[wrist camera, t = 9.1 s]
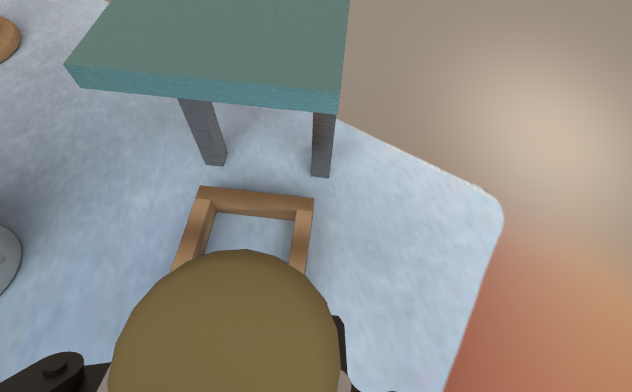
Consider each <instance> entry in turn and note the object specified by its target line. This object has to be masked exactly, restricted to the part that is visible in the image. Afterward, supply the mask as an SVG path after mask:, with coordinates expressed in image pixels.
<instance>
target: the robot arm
mask: <svg viewBox="0 0 632 392" xmlns="http://www.w3.org/2000/svg"><path fill="white" fill-rule="evenodd" d="M20 260H21V245H20V242H19V240H18V238H17V237H16V236H15V234H14V233H13V232H11V231H9V230H8V229H6V228H4V227H3V226H1V225H0V294H1V293H2V292H3V291H4V289H5V288H6V287H7V286H8V285H9V283H10V282H11V280H12V279H13V277H14V276H15V274H16V272H17V269H18V267H19V265H20ZM326 303H327V302H326ZM331 316H332V318H333V321H334V323H335V325H336V328H337V331H338V341H339V352H340V362H341V370H340V376H339V381H338V386H337V392H360V391H359V390H358V389H356V388H355V387H354V386H353V384H352V383H351V381H350V379H349V377H348V374H347V361H346V345H345V329H344V324H343V322H342V321H341V319H340V317H339V316H334V315H331ZM111 363H112V362H110V363H103V364H95V365H87V366H84V359H83V357H82V355H80V354H79V353H76V352H61V353H57V354H53V355H50V356H48V357H45V358H43V359H41V360H40V361H38V362H36V363H34V364H32V365H31V366H29V367H27V368H25V369H24V370H22V371H20V372H18V373H17V374H15V375H13V376H11V377H10V378H8V379H6V380H4V381H3V382H1V383H0V392H108V387H107V381H108V377H109V372H110V368H111ZM390 392H394V391H390Z"/></svg>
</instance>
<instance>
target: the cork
mask: <svg viewBox="0 0 632 392" xmlns="http://www.w3.org/2000/svg"><path fill="white" fill-rule="evenodd" d="M340 370H341V362H340V352H339V341H338V331H337V328H336V325H335V323H334V321H333V318H332V316H331V313H330V311H329V308H328V306H327V303H326V301H325V299H324V297H323V296H322V295H321V294H320V293H319V291H318V290H317V289H316V288H315V287H314V285H313V284H312V283H311V282H310V281H309V279H308V278H307V277H306V276H305V275H304V274H303V273H302V272H300V271H298V270H297V269H295V268H294V267H292V266H290V265H289V264H287V263H286V262H284V261H282V260H281V259H279V258H278V257H276V256H273V255H269V254H265V253H261V252H257V251H253V250H248V249H241V250H224V251H215V252H212V253H209V254H207V255H204V256H201V257H198V258H195V259H192V260H189V261H187V262H185V263H184V264H182V265H181V266H179V267H178V268H176V269H175V270H173V271H172V272H170V273H169V274H167V275H166V276H165V277H163V278H162V279H160V280H159V281H158V282H157V283H156V284H155V285H154V286H153V287H152V288H151V289H150V291H149V292H148V293H147V294H146V295H145V296H144V297H143V299H142V300H141V301H140V302H139V303H138V304H137V305H136V306H135V308H134V309H133V311H132V313H131V315H130V317H129V319H128V321H127V322H126V324H125V326H124V328H123V330H122V332H121V334H120V336H119V338H118V340H117V342H116V345H115V349H114V354H113V358H112V363H111V368H110V372H109V377H108V381H107V387H108V392H337V386H338V381H339V376H340Z"/></svg>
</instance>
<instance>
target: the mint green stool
mask: <svg viewBox="0 0 632 392" xmlns="http://www.w3.org/2000/svg"><path fill="white" fill-rule="evenodd" d="M349 3H350V0H112V1H111V2H110V4H109V5H108V6H107V7H106V9H105V10H104V11H103V13H102V14H101V15H100V17H99V18H98V19H97V21H96V22H95V23H94V24H93V26H92V27H91V28H90V30H89V31H88V32H87V34H86V35H85V36H84V38H83V39H82V40H81V42H80V43H79V44H78V45H77V47H76V48H75V49H74V51H73V52H72V53H71V55H70V56H69V57H68V59H67V60H66V61H65V62H64V64H63V65H64V66H65V68H66V69H67V70H68V72H69V73H70V74H71V76H72V77H73V78H74V80H75V81H76V82H77V84H78V85H79V87H80V88H87V89H97V90H106V91H116V92H125V93H135V94H145V95H154V96H164V97H173V98H177V99H178V101H179V103H180V106H181V108H182V110H183V113H184V115H185V117H186V120H187V122H188V124H189V127H190V129H191V131H192V134H193V136H194V138H195V141H196V143H197V145H198V148H199V150H200V152H201V154H202V157H203V159H204V161H205V164H206V165H214V166H224V163H225V159H226V156H227V153H228V152H227V149H226V146H225V143H224V140H223V136H222V133H221V130H220V127H219V124H218V121H217V118H216V114H215V111H214V108H213V105H212V102H221V103H231V104H240V105H250V106H259V107H269V108H278V109H288V110H298V111H307V112H313V136H312V165H311V176H314V177H323V178H329V173H330V164H331V156H332V147H333V139H334V130H335V122H336V115H337V113H338V105H339V97H340V88H341V78H342V68H343V59H344V49H345V41H346V31H347V22H348V12H349Z"/></svg>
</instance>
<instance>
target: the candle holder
mask: <svg viewBox="0 0 632 392" xmlns="http://www.w3.org/2000/svg"><path fill="white" fill-rule="evenodd" d="M20 40H21V37H20V33H19V30H18V29H17V27H16V26H15V25H14V24H13V23H12V22H11V21H9V20H8V19H6V18H3V17H0V63H1V62H3V61H4V60H6V59H7V58H8V57H10V56H11V55H12V54H13V53H14V52H15V50H16V49H17V48H18V46H19V44H20Z"/></svg>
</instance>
